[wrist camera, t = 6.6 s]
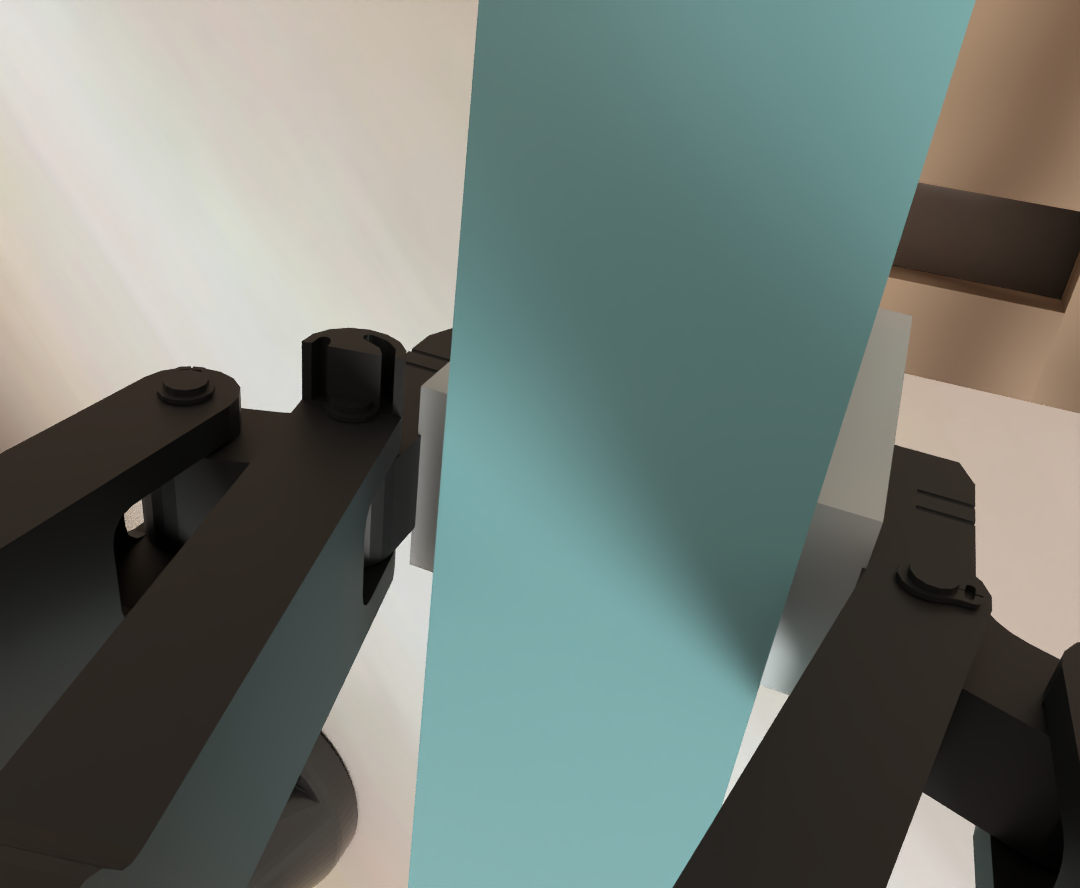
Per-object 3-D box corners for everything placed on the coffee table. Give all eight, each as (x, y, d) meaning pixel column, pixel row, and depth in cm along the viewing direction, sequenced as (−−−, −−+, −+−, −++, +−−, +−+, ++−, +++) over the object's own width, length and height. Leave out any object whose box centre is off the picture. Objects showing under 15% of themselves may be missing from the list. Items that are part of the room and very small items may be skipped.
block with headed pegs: (618, 550, 25) (403, 942, 16) (763, -185, 17) (502, -303, 8) (773, 600, 24) (644, 1051, 15) (1004, -156, 16) (1055, -249, 7)
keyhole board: (584, 264, 38) (554, 292, 35) (657, -317, 29) (625, -343, 26) (1217, 403, 33) (1242, 450, 30) (1547, -264, 24) (1629, -289, 21)
